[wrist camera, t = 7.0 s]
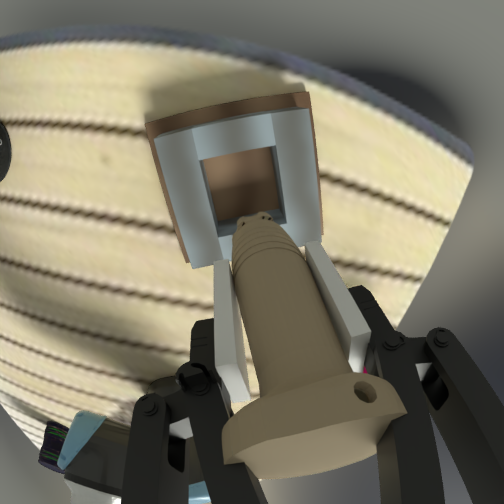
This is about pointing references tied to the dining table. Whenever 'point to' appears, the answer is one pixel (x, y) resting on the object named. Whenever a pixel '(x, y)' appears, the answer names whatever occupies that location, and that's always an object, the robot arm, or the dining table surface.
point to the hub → (238, 171)
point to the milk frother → (4, 152)
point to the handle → (297, 368)
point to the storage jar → (53, 445)
